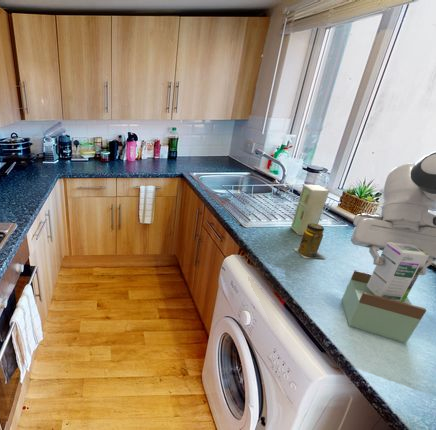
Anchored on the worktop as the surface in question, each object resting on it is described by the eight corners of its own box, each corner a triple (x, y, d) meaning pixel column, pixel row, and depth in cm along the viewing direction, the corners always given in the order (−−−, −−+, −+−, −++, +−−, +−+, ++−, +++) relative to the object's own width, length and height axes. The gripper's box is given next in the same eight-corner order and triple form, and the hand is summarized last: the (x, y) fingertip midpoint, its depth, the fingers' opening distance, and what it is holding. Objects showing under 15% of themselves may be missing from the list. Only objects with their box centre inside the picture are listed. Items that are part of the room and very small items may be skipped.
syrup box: (379, 300, 74) (404, 252, 68) (365, 285, 80) (387, 240, 73) (404, 302, 73) (431, 255, 67) (388, 288, 79) (412, 242, 73)
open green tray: (392, 313, 82) (409, 282, 78) (406, 343, 73) (426, 310, 68) (341, 299, 88) (354, 269, 83) (348, 325, 78) (363, 293, 73)
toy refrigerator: (288, 227, 132) (301, 183, 124) (305, 228, 131) (320, 185, 123) (296, 235, 125) (310, 190, 116) (314, 236, 124) (330, 191, 116)
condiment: (293, 248, 115) (301, 221, 110) (314, 249, 115) (323, 222, 110) (303, 258, 108) (313, 230, 103) (326, 259, 108) (337, 231, 103)
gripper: (359, 207, 78) (353, 254, 74) (464, 224, 69) (463, 279, 65) (350, 216, 83) (344, 260, 80) (446, 233, 75) (444, 284, 71)
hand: (398, 269), depth 72 cm, fingers closed on syrup box, 7 cm apart
